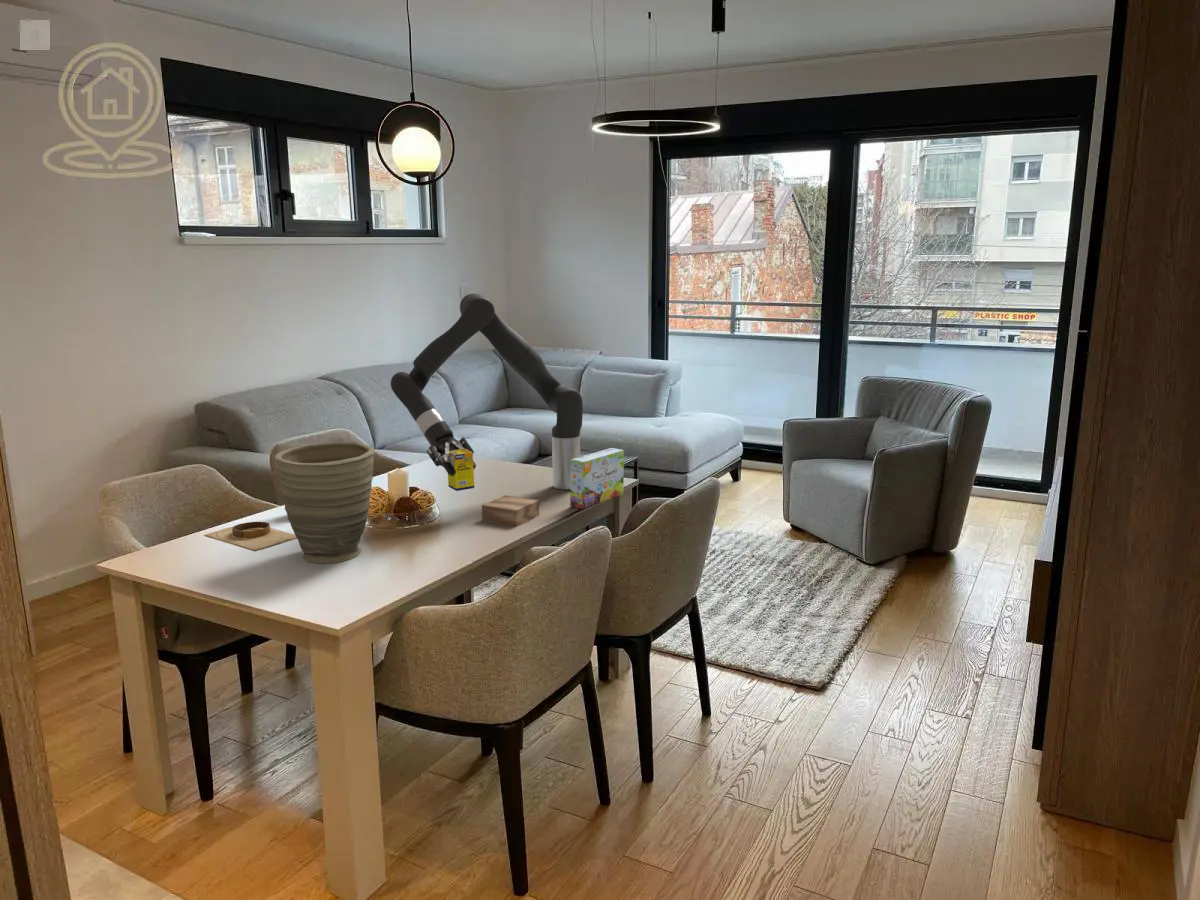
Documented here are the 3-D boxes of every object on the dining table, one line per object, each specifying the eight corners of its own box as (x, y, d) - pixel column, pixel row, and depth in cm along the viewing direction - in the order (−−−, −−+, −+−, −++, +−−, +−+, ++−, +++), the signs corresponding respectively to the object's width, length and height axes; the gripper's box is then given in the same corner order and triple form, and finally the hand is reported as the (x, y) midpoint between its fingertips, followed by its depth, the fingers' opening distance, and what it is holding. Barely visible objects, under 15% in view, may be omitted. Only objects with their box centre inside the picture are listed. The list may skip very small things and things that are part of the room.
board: (201, 537, 245) (199, 526, 244) (249, 523, 257) (248, 513, 256) (255, 554, 231) (254, 542, 230) (304, 538, 243) (303, 527, 242)
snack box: (584, 510, 265) (583, 461, 262) (569, 507, 268) (568, 459, 265) (624, 494, 282) (624, 448, 278) (610, 492, 285) (610, 446, 282)
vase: (269, 554, 230) (270, 440, 229) (362, 550, 241) (364, 441, 239) (278, 573, 208) (280, 446, 207) (380, 567, 219) (383, 447, 217)
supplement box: (475, 488, 257) (473, 452, 254) (455, 491, 254) (453, 454, 251) (466, 483, 262) (465, 448, 259) (448, 486, 259) (446, 450, 256)
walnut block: (505, 511, 266) (505, 495, 265) (539, 516, 260) (538, 500, 259) (482, 521, 256) (481, 505, 254) (516, 527, 250) (516, 510, 249)
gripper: (421, 424, 252) (452, 469, 248) (457, 416, 263) (487, 458, 259) (410, 440, 256) (440, 484, 252) (446, 431, 267) (475, 473, 263)
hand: (464, 471), depth 256 cm, fingers closed on supplement box, 7 cm apart
